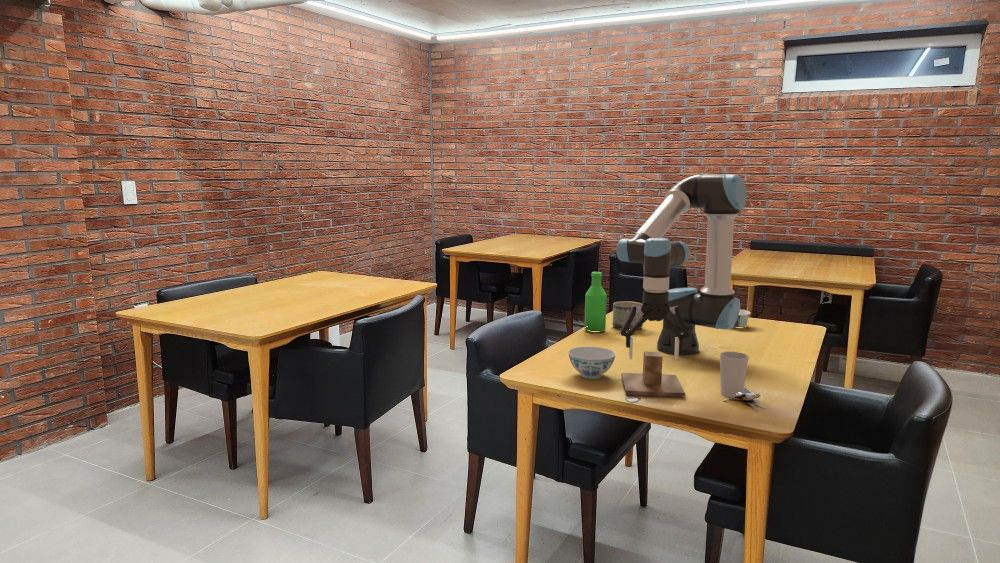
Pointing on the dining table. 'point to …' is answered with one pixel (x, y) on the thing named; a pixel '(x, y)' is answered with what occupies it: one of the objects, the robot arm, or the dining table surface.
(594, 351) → the chinaware
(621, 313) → the planter
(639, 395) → the mat
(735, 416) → the dining table surface
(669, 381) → the lid
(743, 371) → the cup
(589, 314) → the bottle
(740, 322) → the food container
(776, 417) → the dining table surface
